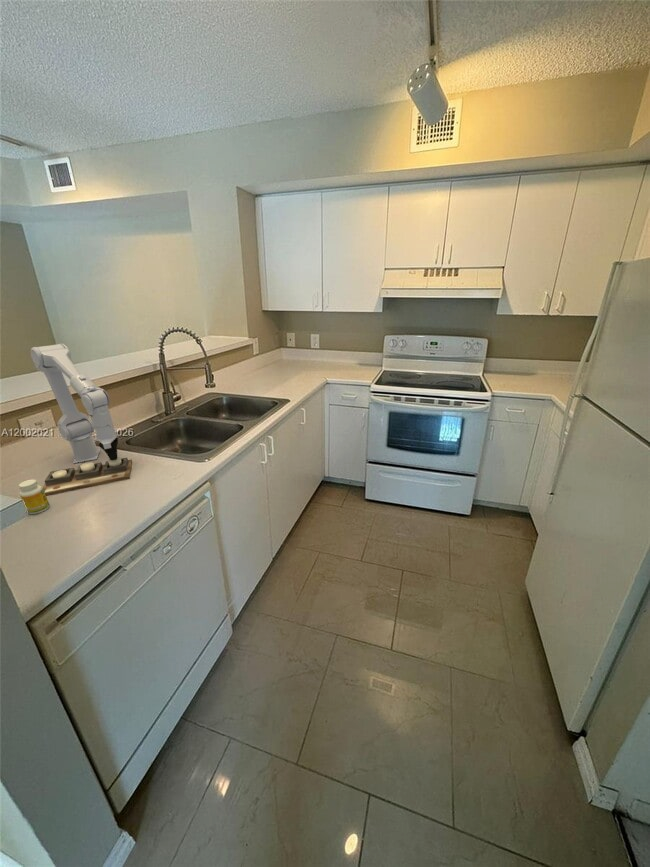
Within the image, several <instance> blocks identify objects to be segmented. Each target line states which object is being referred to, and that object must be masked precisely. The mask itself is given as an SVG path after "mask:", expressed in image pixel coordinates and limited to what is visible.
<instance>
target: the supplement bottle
mask: <svg viewBox="0 0 650 867" xmlns="http://www.w3.org/2000/svg"><path fill="white" fill-rule="evenodd" d="M18 487H19V489H20V491H19V496H20V498H21V500H22V499H23V500H24V502H25V505H26V507H27V510H28V512H27V513H28V514H30V515H37V514H41V513H43V512H45V511H46V510H48V509H49V508H50V502H49V500H48V498H47V496H46V495H45V493H44V490H43V486H41V485H40V484H38V481H37V480H36V479H27V480H25V481H22V482H20V483H19V484H18ZM25 505H24V506H25ZM26 507H25V508H26ZM27 510H26V511H27Z"/></svg>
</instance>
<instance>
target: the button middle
mask: <svg viewBox="0 0 650 867" xmlns="http://www.w3.org/2000/svg"><path fill="white" fill-rule="evenodd" d="M94 464H95V463H94V462H93V461H86V462H85V463H84V462H83V463H82V464H80V467H81V470H82V473H84V472H89V471H94V470H95V466H94Z"/></svg>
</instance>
